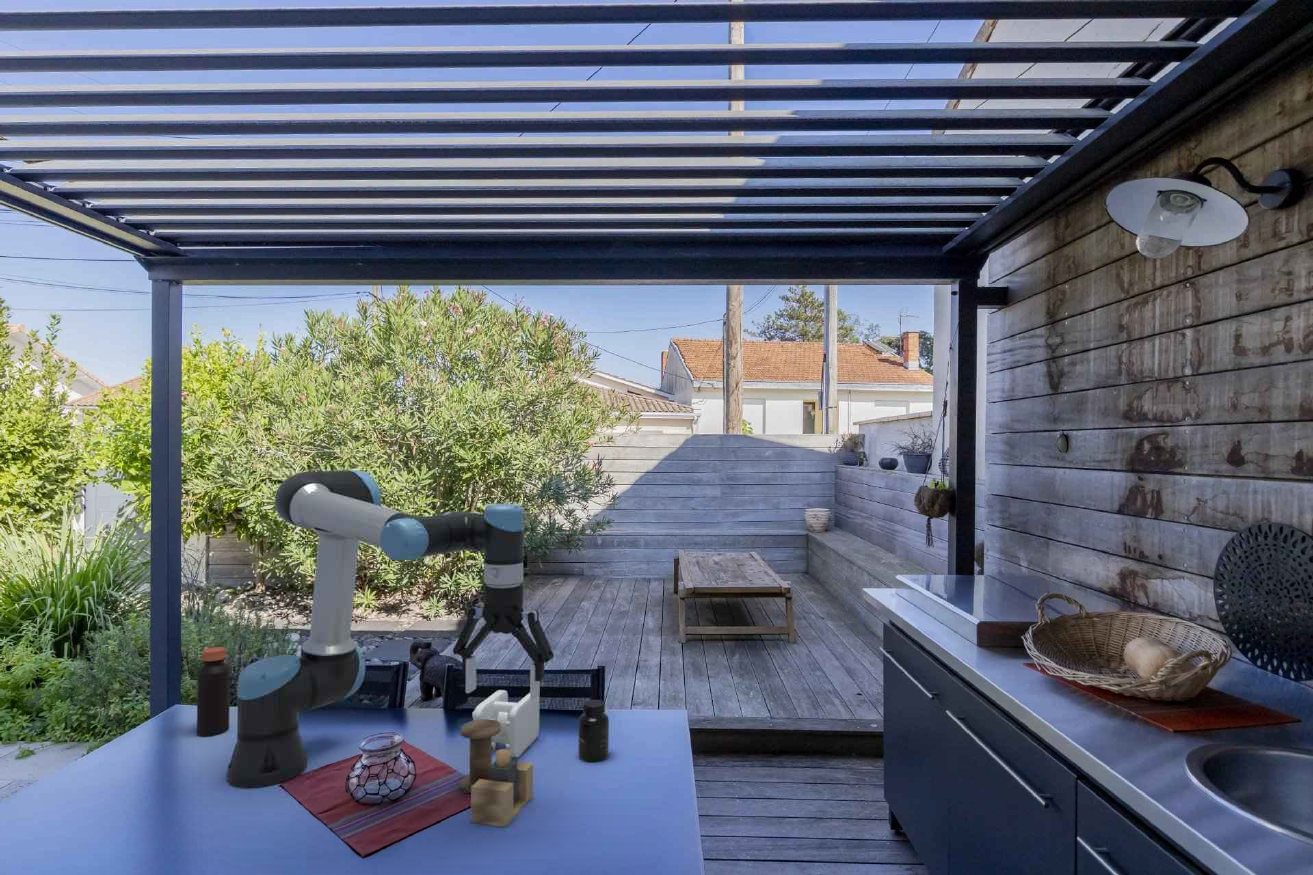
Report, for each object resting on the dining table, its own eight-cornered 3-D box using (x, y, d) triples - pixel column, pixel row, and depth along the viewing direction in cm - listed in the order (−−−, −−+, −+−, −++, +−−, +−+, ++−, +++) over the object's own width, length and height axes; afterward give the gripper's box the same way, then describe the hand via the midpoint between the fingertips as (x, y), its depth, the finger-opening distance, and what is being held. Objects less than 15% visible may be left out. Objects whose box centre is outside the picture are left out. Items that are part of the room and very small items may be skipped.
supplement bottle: (572, 759, 160) (573, 705, 161) (587, 748, 167) (587, 696, 167) (600, 764, 158) (600, 710, 158) (613, 752, 164) (613, 700, 164)
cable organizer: (514, 764, 158) (514, 711, 158) (470, 759, 160) (470, 707, 160) (540, 738, 173) (540, 689, 173) (499, 734, 175) (499, 686, 175)
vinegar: (198, 728, 178) (200, 647, 178) (230, 724, 180) (231, 644, 181) (194, 738, 171) (195, 654, 172) (227, 734, 174) (228, 651, 175)
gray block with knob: (488, 809, 137) (488, 754, 137) (497, 799, 141) (498, 746, 141) (507, 812, 136) (508, 756, 136) (516, 802, 140) (517, 748, 140)
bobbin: (453, 791, 145) (453, 731, 146) (472, 774, 153) (472, 717, 153) (489, 796, 143) (489, 735, 144) (507, 778, 151) (507, 721, 151)
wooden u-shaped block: (470, 822, 133) (471, 786, 133) (500, 792, 145) (500, 759, 145) (505, 827, 132) (505, 791, 132) (532, 796, 143) (532, 763, 143)
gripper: (435, 584, 139) (434, 694, 139) (555, 591, 133) (554, 706, 132) (456, 577, 146) (454, 682, 146) (570, 584, 140) (569, 693, 140)
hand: (502, 694), depth 139 cm, fingers open, 13 cm apart
